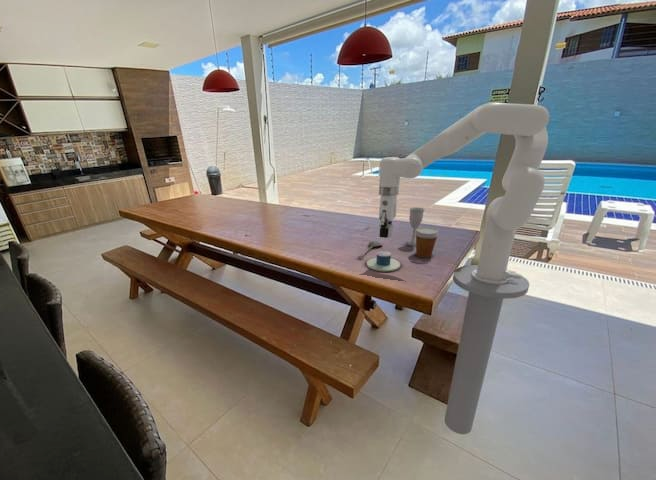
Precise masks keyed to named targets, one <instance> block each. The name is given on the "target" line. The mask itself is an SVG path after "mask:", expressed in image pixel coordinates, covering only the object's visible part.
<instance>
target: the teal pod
mask: <svg viewBox="0 0 656 480" xmlns="http://www.w3.org/2000/svg"><path fill="white" fill-rule="evenodd" d="M376 258H377V260H376V263H377V264H378V265H381V266H387V265H390V260H391V258H392V253H391V252H389V251H381V250H380V251H377V252H376Z"/></svg>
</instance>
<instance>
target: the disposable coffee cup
mask: <svg viewBox="0 0 656 480" xmlns="http://www.w3.org/2000/svg"><path fill="white" fill-rule="evenodd" d="M438 236H439V231H438V229H436V228H433V227H427V226H426V227H425V226H424V227H423V226H422V227H418V228H416V229H415V240H416V245H415V251H416V252H415V255H416V256H417V257H419V258H423V259H425V258H427V259H428V258H431V257H432V255H433V254H432V253H433V251H434V248H435V245H436V241H437V238H438Z"/></svg>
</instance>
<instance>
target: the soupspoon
mask: <svg viewBox="0 0 656 480" xmlns="http://www.w3.org/2000/svg"><path fill="white" fill-rule="evenodd" d="M368 245H369V247H367V249H366V250H365V251H364V252H363V253H361V255H358V256H357V259H359V260H362V259H363V258H362V257H363V256H365V254H366V253H368V251H370V250H371V249H372V248H374V247H379V246H383V244H382V242H380V241H376V240H372V241H369V242H368Z"/></svg>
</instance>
